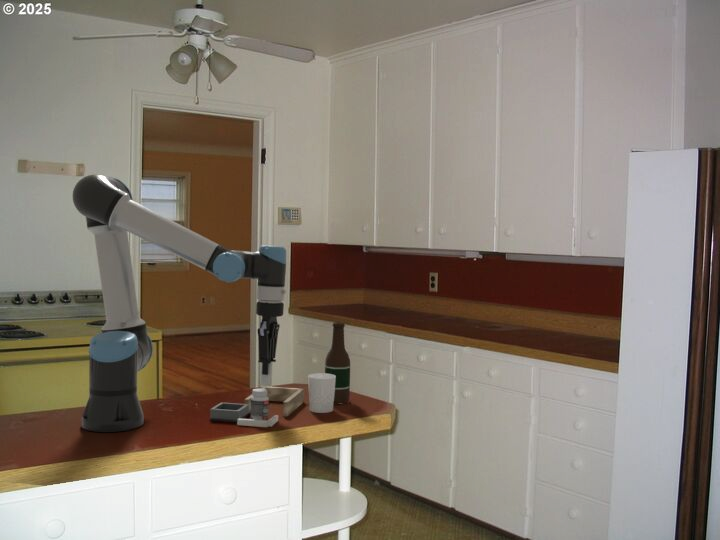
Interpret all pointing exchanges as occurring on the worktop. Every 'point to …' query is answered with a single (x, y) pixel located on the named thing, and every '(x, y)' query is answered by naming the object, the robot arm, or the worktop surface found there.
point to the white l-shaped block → (258, 422)
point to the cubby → (283, 398)
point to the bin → (229, 412)
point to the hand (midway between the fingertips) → (265, 385)
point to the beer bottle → (339, 364)
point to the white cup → (321, 392)
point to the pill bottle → (259, 404)
